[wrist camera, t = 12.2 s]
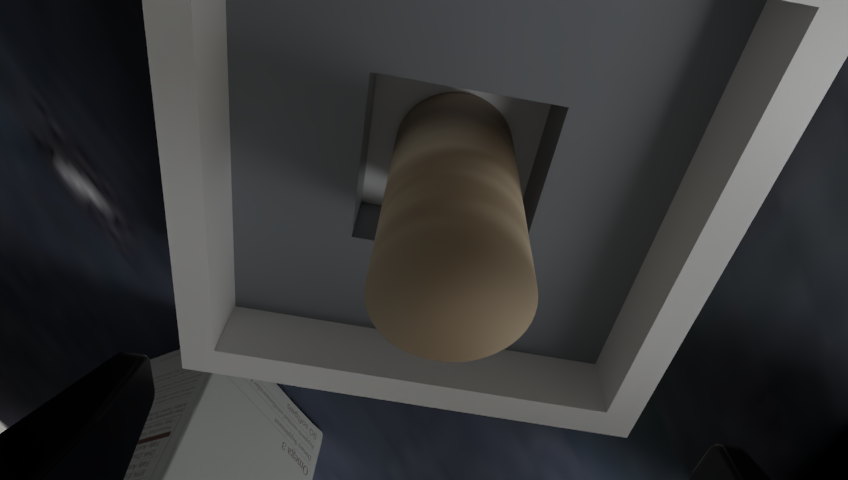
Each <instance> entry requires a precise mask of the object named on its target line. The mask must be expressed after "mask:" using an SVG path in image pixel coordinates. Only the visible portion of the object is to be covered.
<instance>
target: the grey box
mask: <svg viewBox="0 0 848 480" xmlns="http://www.w3.org/2000/svg"><path fill="white" fill-rule="evenodd" d="M142 6H143V15H144V25H145V34H146V43H147V52H148V61H149V70H150V79H151V88H152V97H153V106H154V115H155V124H156V133H157V142H158V151H159V160H160V169H161V179H162V188H163V197H164V206H165V215H166V224H167V233H168V242H169V251H170V260H171V269H172V278H173V287H174V296H175V305H176V314H177V323H178V332H179V342H180V351H181V360H182V368H183V369H189V370H196V371H202V372H209V373H215V374H221V375H228V376H234V377H241V378H247V379H253V380H260V381H266V382H273V383H279V384H285V385H292V386H298V387H305V388H311V389H317V390H324V391H330V392H337V393H343V394H349V395H356V396H362V397H369V398H375V399H381V400H388V401H394V402H401V403H407V404H413V405H420V406H426V407H433V408H439V409H445V410H452V411H458V412H465V413H471V414H477V415H484V416H490V417H497V418H503V419H509V420H516V421H522V422H529V423H535V424H541V425H548V426H554V427H560V428H567V429H573V430H580V431H586V432H592V433H599V434H605V435H612V436H618V437H624V438H627V437H628V435H629V434H630V432H631V430H632V428H633V427H634V425H635V423H636V421H637V420H638V418H639V416H640V414H641V413H642V411H643V409H644V408H645V406H646V404H647V402H648V401H649V399H650V397H651V395H652V394H653V392H654V390H655V388H656V387H657V385H658V383H659V382H660V380H661V378H662V376H663V375H664V373H665V371H666V369H667V368H668V366H669V364H670V362H671V361H672V359H673V357H674V356H675V354H676V352H677V350H678V349H679V347H680V345H681V343H682V342H683V340H684V338H685V337H686V335H687V333H688V331H689V330H690V328H691V326H692V324H693V323H694V321H695V319H696V317H697V316H698V314H699V312H700V311H701V309H702V307H703V305H704V304H705V302H706V300H707V298H708V297H709V295H710V293H711V291H712V290H713V288H714V286H715V285H716V283H717V281H718V279H719V278H720V276H721V274H722V272H723V271H724V269H725V267H726V265H727V264H728V262H729V260H730V259H731V257H732V255H733V253H734V252H735V250H736V248H737V246H738V245H739V243H740V241H741V239H742V238H743V236H744V234H745V233H746V231H747V229H748V227H749V226H750V224H751V222H752V220H753V219H754V217H755V215H756V213H757V212H758V210H759V208H760V207H761V205H762V203H763V201H764V200H765V198H766V196H767V194H768V193H769V191H770V189H771V187H772V186H773V184H774V182H775V181H776V179H777V177H778V175H779V174H780V172H781V170H782V168H783V167H784V165H785V163H786V161H787V160H788V158H789V156H790V155H791V153H792V151H793V149H794V148H795V146H796V144H797V142H798V141H799V139H800V137H801V135H802V134H803V132H804V130H805V129H806V127H807V125H808V123H809V122H810V120H811V118H812V116H813V115H814V113H815V111H816V109H817V108H818V106H819V104H820V103H821V101H822V99H823V97H824V96H825V94H826V92H827V90H828V89H829V87H830V85H831V83H832V82H833V80H834V78H835V77H836V75H837V73H838V71H839V70H840V68H841V66H842V64H843V63H844V61H845V59H846V58H847V56H848V0H142ZM446 92H462V93H468V94H472V95H475V96H478V97H480V98H482V99H484V100H486V101H488V102H489V103H491V104H492V105H493V106H495V107H496V108H497V109H498V110H499V111H500V113H501V114H502V115H503V116H504V118H505V120H506V121H507V123H508V125H509V128H510V131H511V135H512V140H513V146H514V152H515V157H516V163H517V169H518V175H519V181H520V187H521V193H522V199H523V205H524V211H525V216H526V222H527V228H528V234H529V240H530V246H531V252H532V258H533V264H534V270H535V276H536V281H537V287H538V306H537V309H536V313H535V316H534V318H533V320H532V322H531V324H530V325H529V327H528V328H527V330H526V331H525V332H524V333H523V335H522V336H521V337H520V338H519V339H517V340H516V341H515V342H514V343H513V344H511V345H510V346H508V347H507V348H505V349H503V350H501V351H500V352H498V353H495V354H493V355H490V356H488V357H484V358H481V359H477V360H472V361H465V362H441V361H434V360H429V359H424V358H421V357H418V356H415V355H412V354H410V353H407V352H405V351H403V350H402V349H400V348H398V347H396V346H395V345H393V344H392V343H391V342H389V341H388V340H387V339H386V338H385V337H384V336H382V334H381V333H380V332H379V331H378V330H377V329H376V327H375V326H374V324H373V323H372V321H371V319H370V317H369V315H368V313H367V309H366V306H365V299H364V289H365V283H366V278H367V274H368V269H369V264H370V259H371V255H372V250H373V245H374V240H375V236H376V231H377V226H378V221H379V217H380V212H381V207H382V202H383V198H384V193H385V188H386V183H387V179H388V174H389V169H390V164H391V160H392V155H393V150H394V145H395V141H396V136H397V132H398V129H399V126H400V124H401V122H402V120H403V118H404V117H405V116H406V114H407V113H408V112H409V111H410V110H411V109H412V108H413V107H414V106H415V105H417V104H418V103H419V102H421V101H423V100H424V99H426V98H428V97H431V96H433V95H437V94H440V93H446Z"/></svg>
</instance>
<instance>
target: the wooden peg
mask: <svg viewBox="0 0 848 480" xmlns="http://www.w3.org/2000/svg"><path fill="white" fill-rule="evenodd" d="M364 299H365V306H366V309H367V313H368V315H369V317H370V319H371V321H372V323H373V324H374V326H375V327H376V329H377V330H378V331H379V332H380V333H381V334H382V336H384V337H385V338H386V339H387V340H388V341H389V342H391V343H392V344H393V345H395V346H396V347H398V348H400V349H402V350H403V351H405V352H407V353H410V354H412V355H415V356H418V357H421V358H424V359H429V360H434V361H441V362H465V361H472V360H477V359H481V358H484V357H488V356H490V355H493V354H495V353H498V352H500V351H501V350H503V349H505V348H507V347H508V346H510V345H511V344H513V343H514V342H515V341H516V340H517V339H519V338H520V337H521V336H522V335H523V333H524V332H525V331H526V330H527V328H528V327H529V325H530V324H531V322H532V320H533V318H534V316H535V313H536V309H537V306H538V287H537V281H536V276H535V270H534V264H533V258H532V252H531V246H530V240H529V234H528V228H527V222H526V216H525V211H524V205H523V199H522V193H521V187H520V181H519V175H518V169H517V163H516V157H515V152H514V146H513V140H512V135H511V131H510V128H509V125H508V123H507V121H506V120H505V118H504V116H503V115H502V114H501V113H500V111H499V110H498V109H497V108H496V107H495V106H493V105H492V104H491V103H489V102H488V101H486V100H484V99H482V98H480V97H478V96H475V95H472V94H468V93H462V92H446V93H440V94H437V95H433V96H431V97H428V98H426V99H424V100H423V101H421V102H419V103H418V104H417V105H415V106H414V107H413V108H412V109H411V110H410V111H409V112H408V113H407V114H406V116H405V117H404V118H403V120H402V122H401V124H400V126H399V129H398V132H397V136H396V141H395V145H394V150H393V155H392V160H391V164H390V169H389V174H388V179H387V183H386V188H385V193H384V198H383V202H382V207H381V212H380V217H379V221H378V226H377V231H376V236H375V240H374V245H373V250H372V255H371V259H370V264H369V269H368V274H367V278H366V283H365V289H364Z"/></svg>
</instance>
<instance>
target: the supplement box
mask: <svg viewBox="0 0 848 480" xmlns="http://www.w3.org/2000/svg"><path fill="white" fill-rule="evenodd" d="M150 361H151V367H152V373H153V380H154V386H155V397H154V402H153V405H152V408H151V410H150V413H149V415H148V418H147V421H146V423H145V426H144V428H143V431H142V434H141V436H140V439H139V441H138V444H137V446H136V449H135V452H134V454H133V457H132V459H131V462H130V465H129V467H128V470H127V472H126V475H125V477H124V480H312V478H313V474H314V469H315V465H316V461H317V457H318V454H319V450H320V446H321V442H322V437H323V434H322V432H321V431H320V430H319V429H318V428H317V427H316V426H315V425H314V424H313V423H312V422H311V421H310V420H309V419H308V418H307V417H306V416H305V415H304V414H303V413H302V412H301V411H300V410H299V408H298V407H297V406H296V405H295V404H294V403H293V402H292V401H291V400H290V399H289V397H288V396H287V395H286V394H285V393H284V392H283V391H282V390H281V388H280V387H279V386H278V385H277V384H276V383H273V382H266V381H260V380H253V379H247V378H241V377H234V376H228V375H221V374H215V373H209V372H202V371H196V370H189V369H183V368H182V360H181V351H180V349H179V350H175V351H172V352H170V353H167V354H164V355H161V356H159V357H156V358H153V359H150Z"/></svg>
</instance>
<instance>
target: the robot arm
mask: <svg viewBox="0 0 848 480" xmlns="http://www.w3.org/2000/svg"><path fill="white" fill-rule="evenodd" d="M154 397H155V386H154V380H153V373H152V367H151V361H150V359H149V357H148V356H146V355H142V354H136V353H130V352H121V353H119V354H116V355H115V356H113V357H112V358H110V359H109V360H107V361H106V362H105V363H103V364H102V365H100V366H99V367H97V368H96V369H94V370H93V371H91V372H90V373H88V374H87V375H86V376H84V377H83V378H81V379H80V380H78V381H77V382H75V383H74V384H72V385H71V386H69V387H68V388H66V389H65V390H64V391H62V392H61V393H59V394H58V395H56V396H55V397H53V398H52V399H50V400H49V401H47V402H46V403H45V404H43V405H42V406H40V407H39V408H37V409H36V410H34V411H33V412H31V413H30V414H28V415H27V416H26V417H24V418H23V419H21V420H20V421H18V422H17V423H15V424H14V425H12V426H11V427H9V428H8V429H6V430H5V431H4V432H2V433H1V434H0V480H124V477H125V475H126V472H127V470H128V467H129V465H130V462H131V459H132V457H133V454H134V452H135V449H136V446H137V444H138V441H139V439H140V436H141V434H142V431H143V428H144V426H145V423H146V421H147V418H148V415H149V413H150V410H151V408H152V405H153V402H154ZM690 480H772V479H771V478H770V477H769V476H768V475H767V474H766V473H765V472H764V471H763V469H762V468H761V467H760V466H759V465H758V464H757V463H756V462H755V461H754V460H753V459H752V458H751V457H750V456H749V455H748V454H747V453H746V452H745V451H744V450H743V449H741V448H739V447H736V446H730V445H724V444H714V445H712V446H711V447H710V448H709V449H708V451H707V452H706V454H705V455H704V456H703V458H702V459H701V460H700V462H699V463H698V465H697V466H696V467H695V469H694V470H693V472H692V475H691V479H690ZM802 480H848V430H847V431H845V432H844V434H843V435H842V436H841V437H840V438H839V439H838V440H837V441H836V442H835V443H834V445H833V446H832V447H831V448H830V449H829V450H828V451H827V452H826V453H825V454H824V456H823V457H822V458H821V459H820V460H819V461H818V462H817V463H816V464H815V465H814V466H813V468H812V469H811V470H810V471H809V472H808V473H807V474H806V475H805V476H804V477H803V479H802Z"/></svg>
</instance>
